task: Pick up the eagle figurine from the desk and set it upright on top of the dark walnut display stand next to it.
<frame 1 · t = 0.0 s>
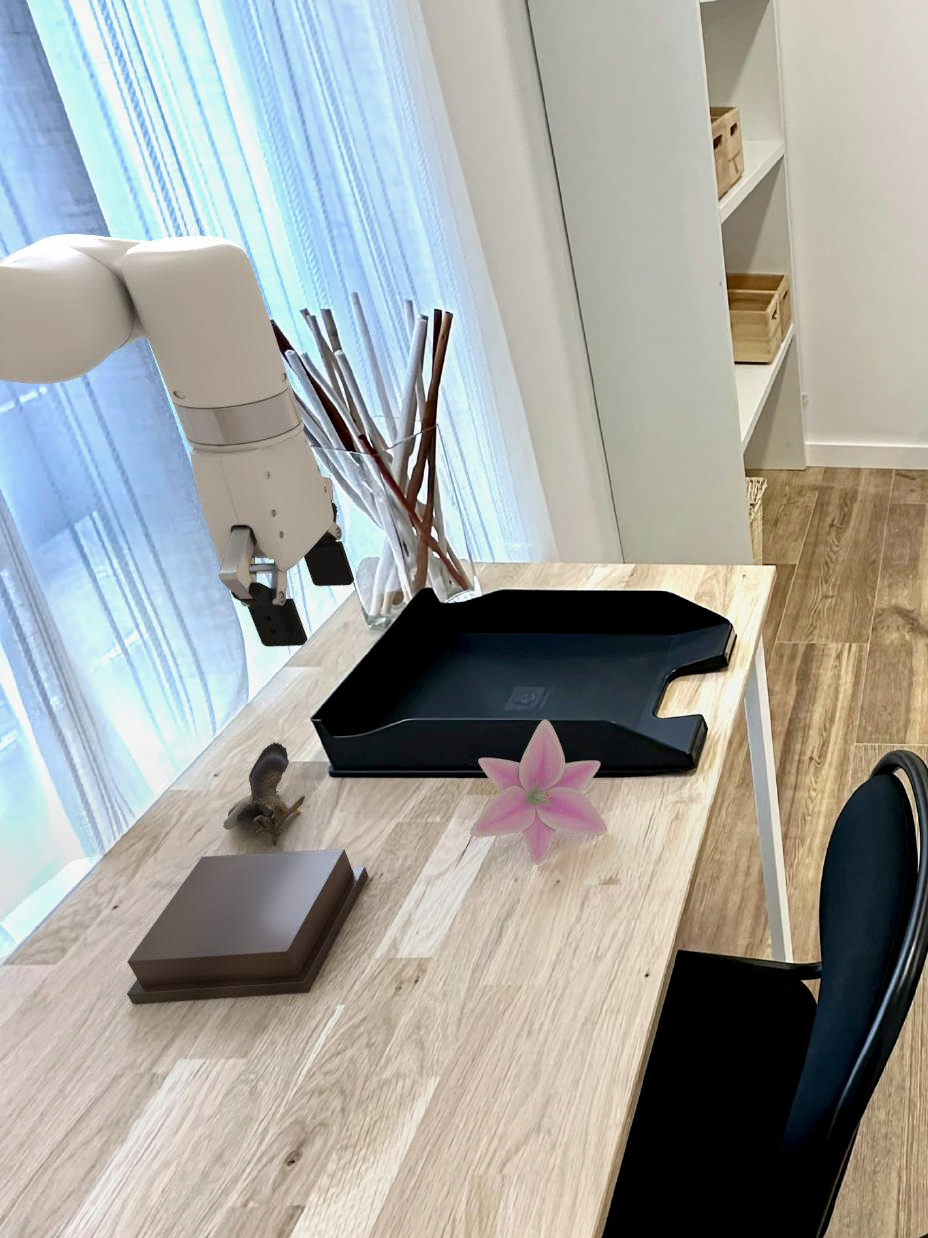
hand: (311, 612, 90), 24 cm above the table, tool pointing down, fingers open, 9 cm apart
display stand: (258, 935, 91), on the table
lily: (548, 834, 102), on the table
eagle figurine: (274, 821, 103), on the table
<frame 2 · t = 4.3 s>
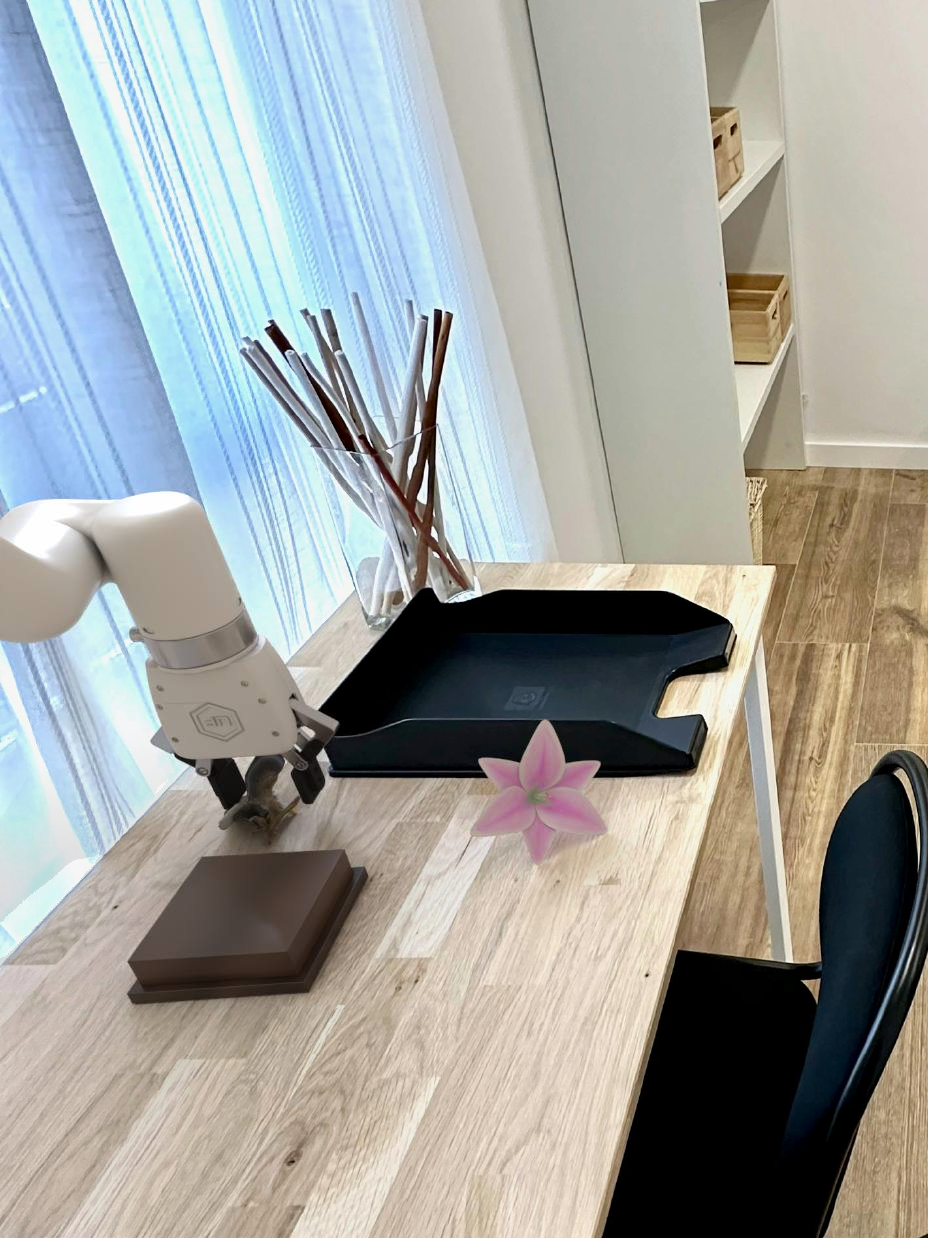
hand: (275, 796, 102), 3 cm above the table, tool pointing down, fingers closed on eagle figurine, 6 cm apart
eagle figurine: (270, 821, 103), on the table, touching gripper
everything else where it was.
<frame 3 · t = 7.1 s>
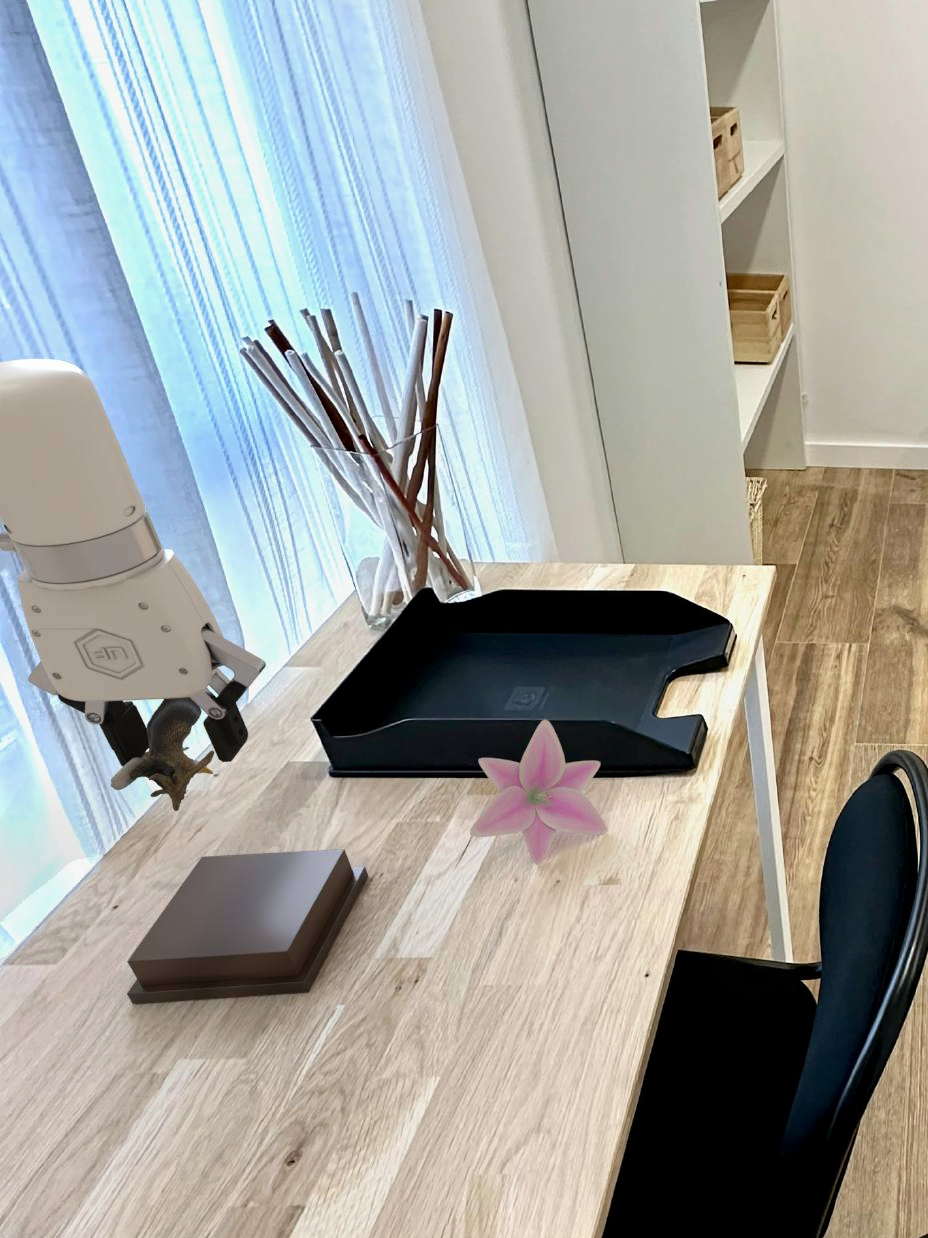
hand: (186, 751, 84), 17 cm above the table, tool pointing down, fingers closed on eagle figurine, 6 cm apart
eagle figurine: (180, 782, 85), point 15 cm above the table, touching gripper
everything else where it was.
when the fingers open (7 cm above the table, at t = 10.2 s): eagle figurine stays where it is, resting on display stand.
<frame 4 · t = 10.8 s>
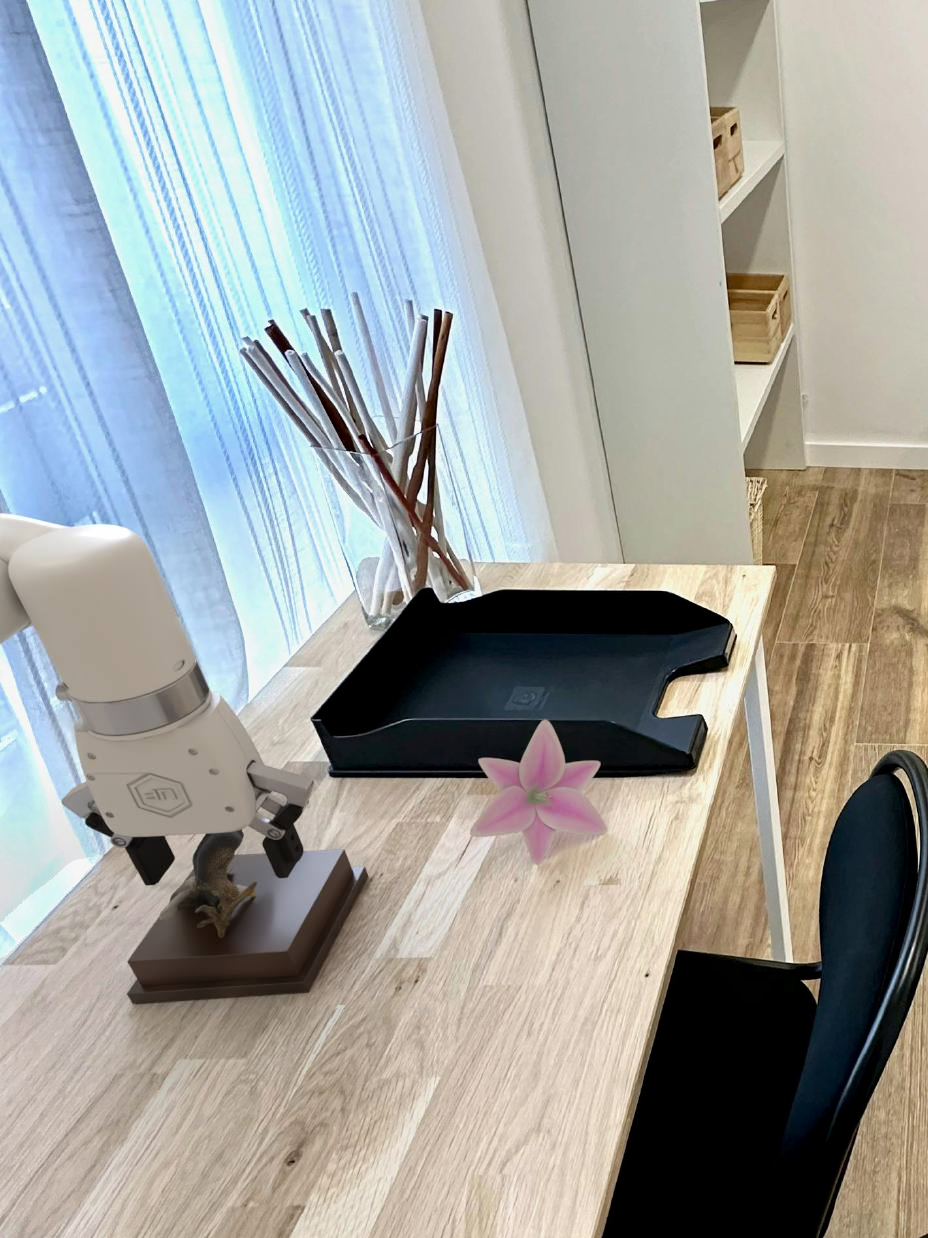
hand: (226, 869, 87), 8 cm above the table, tool pointing down, fingers open, 9 cm apart
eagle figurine: (225, 906, 88), point 4 cm above the table, touching display stand
everything else where it was.
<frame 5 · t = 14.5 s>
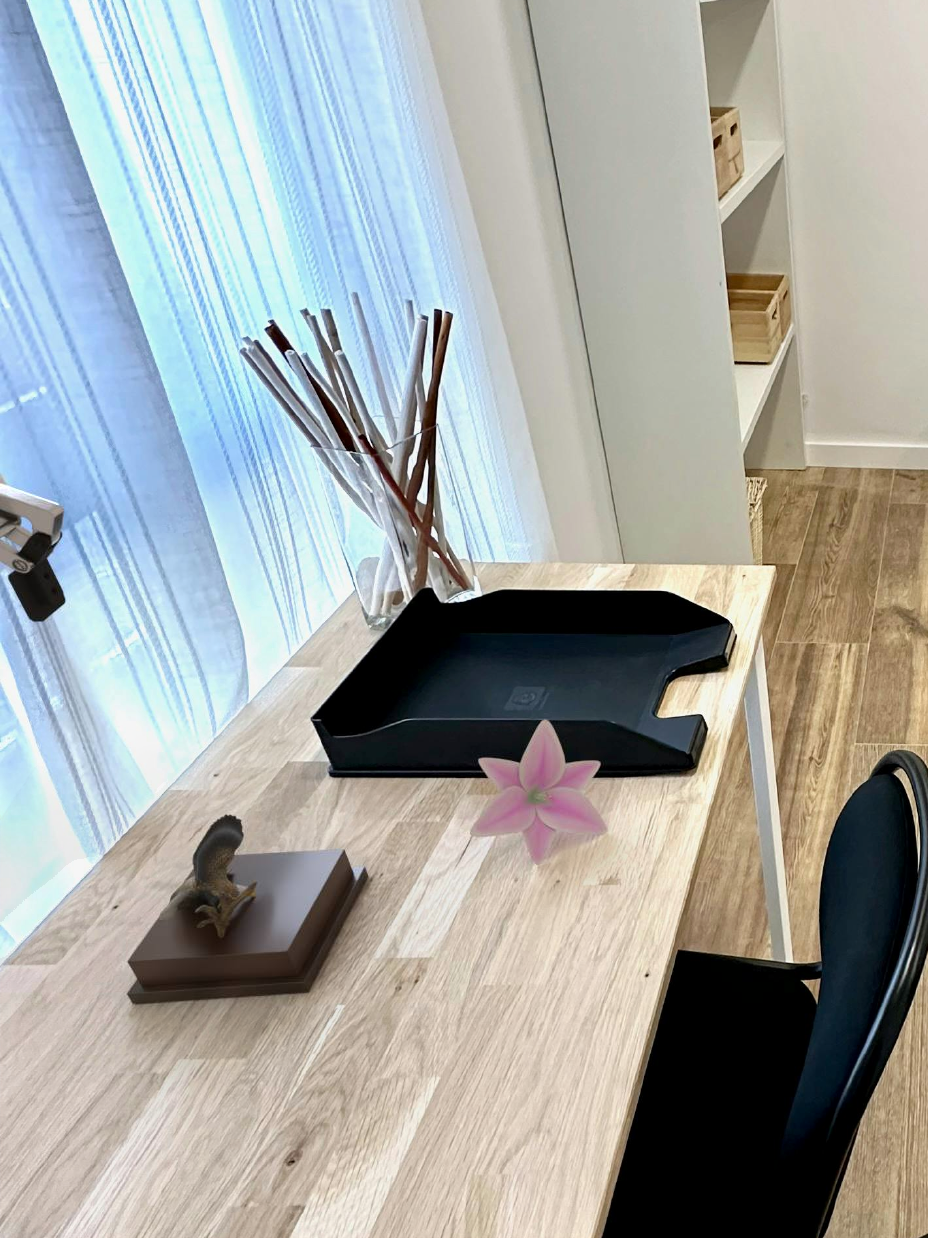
nothing on the table moved.
at the end: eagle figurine inside the target area on the display stand (1.3 cm from its centre), point 3.8 cm above the display stand's base; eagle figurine tilted 1°; the gripper is holding nothing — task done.
